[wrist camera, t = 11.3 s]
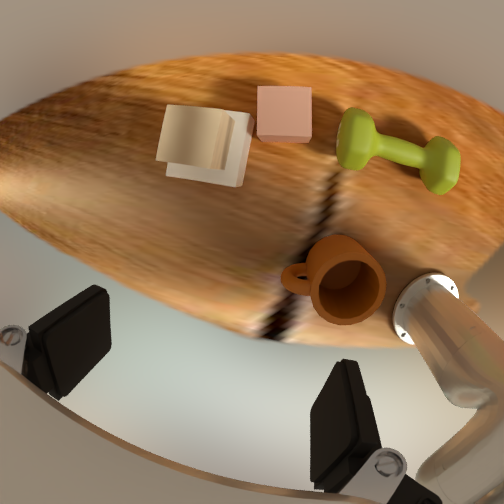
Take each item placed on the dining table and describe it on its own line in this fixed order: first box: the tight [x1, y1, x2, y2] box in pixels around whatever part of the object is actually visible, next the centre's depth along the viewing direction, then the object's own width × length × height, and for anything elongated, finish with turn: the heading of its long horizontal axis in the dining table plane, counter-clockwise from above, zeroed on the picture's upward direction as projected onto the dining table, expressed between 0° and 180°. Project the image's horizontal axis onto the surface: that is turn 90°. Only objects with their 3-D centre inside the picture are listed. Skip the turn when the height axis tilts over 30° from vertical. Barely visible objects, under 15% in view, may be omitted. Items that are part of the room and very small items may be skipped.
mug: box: [281, 235, 387, 325], centre depth 33 cm, size 9×12×9 cm
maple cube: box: [156, 105, 235, 170], centre depth 27 cm, size 6×6×6 cm
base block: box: [166, 110, 255, 187], centre depth 32 cm, size 9×9×5 cm
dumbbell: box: [336, 107, 461, 195], centre depth 28 cm, size 16×8×7 cm, turn 81°
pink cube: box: [257, 86, 312, 143], centre depth 30 cm, size 6×6×6 cm
